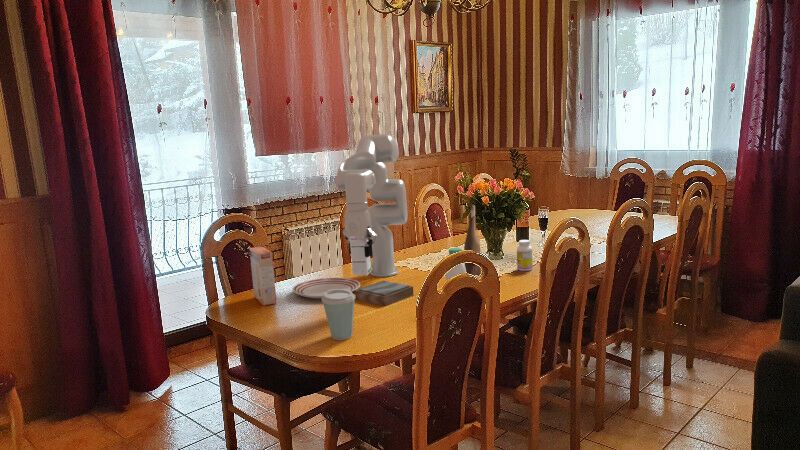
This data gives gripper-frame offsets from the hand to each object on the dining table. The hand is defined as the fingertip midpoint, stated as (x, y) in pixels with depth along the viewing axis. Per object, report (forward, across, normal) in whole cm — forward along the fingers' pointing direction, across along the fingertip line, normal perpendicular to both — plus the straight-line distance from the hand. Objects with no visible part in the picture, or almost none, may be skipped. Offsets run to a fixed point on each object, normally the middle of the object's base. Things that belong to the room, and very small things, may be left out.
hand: (360, 254), depth 215 cm
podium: (+21, -4, +14) cm, 25 cm away
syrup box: (+7, 0, 0) cm, 7 cm away
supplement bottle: (+22, +22, +77) cm, 83 cm away
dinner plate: (+21, -28, +6) cm, 36 cm away
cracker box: (+21, -42, -15) cm, 49 cm away
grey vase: (+21, +12, +52) cm, 58 cm away
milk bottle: (+21, +24, +25) cm, 40 cm away
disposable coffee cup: (+20, +14, -25) cm, 35 cm away
